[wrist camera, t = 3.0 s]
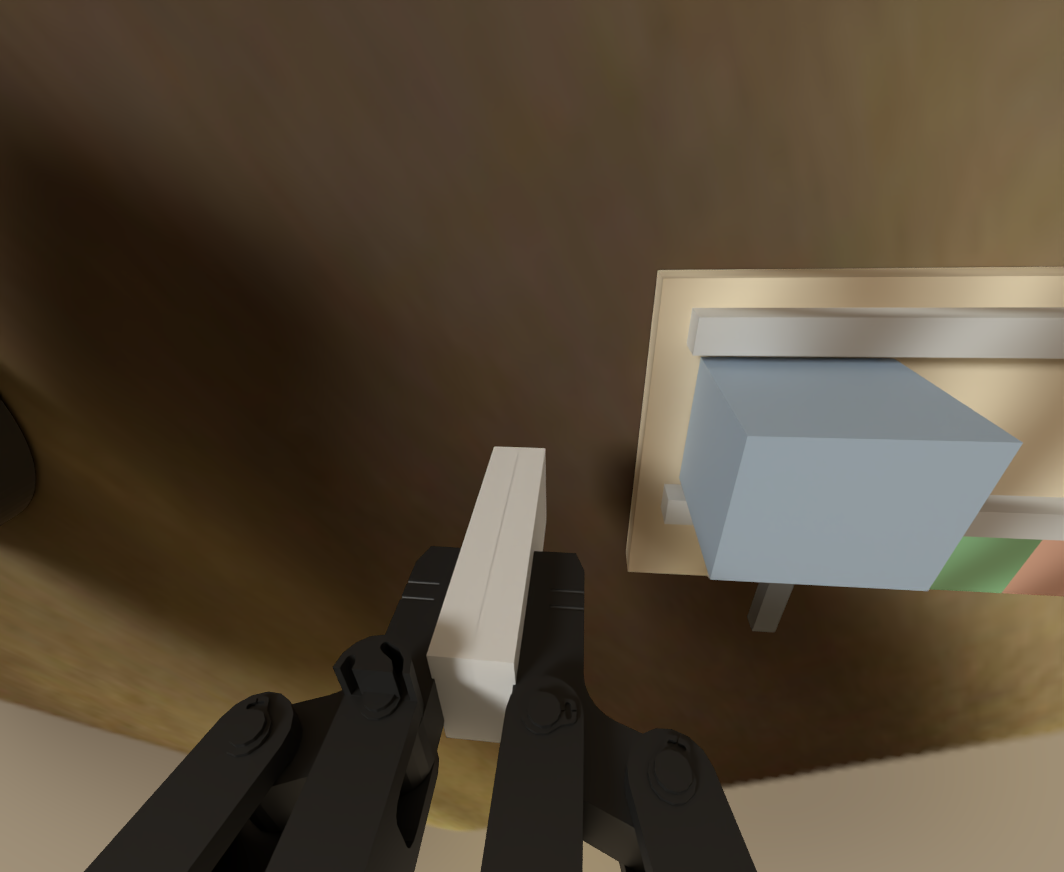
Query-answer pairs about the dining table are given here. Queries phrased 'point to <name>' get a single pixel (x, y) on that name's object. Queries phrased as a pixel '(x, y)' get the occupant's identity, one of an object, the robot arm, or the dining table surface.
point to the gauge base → (874, 332)
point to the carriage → (832, 474)
